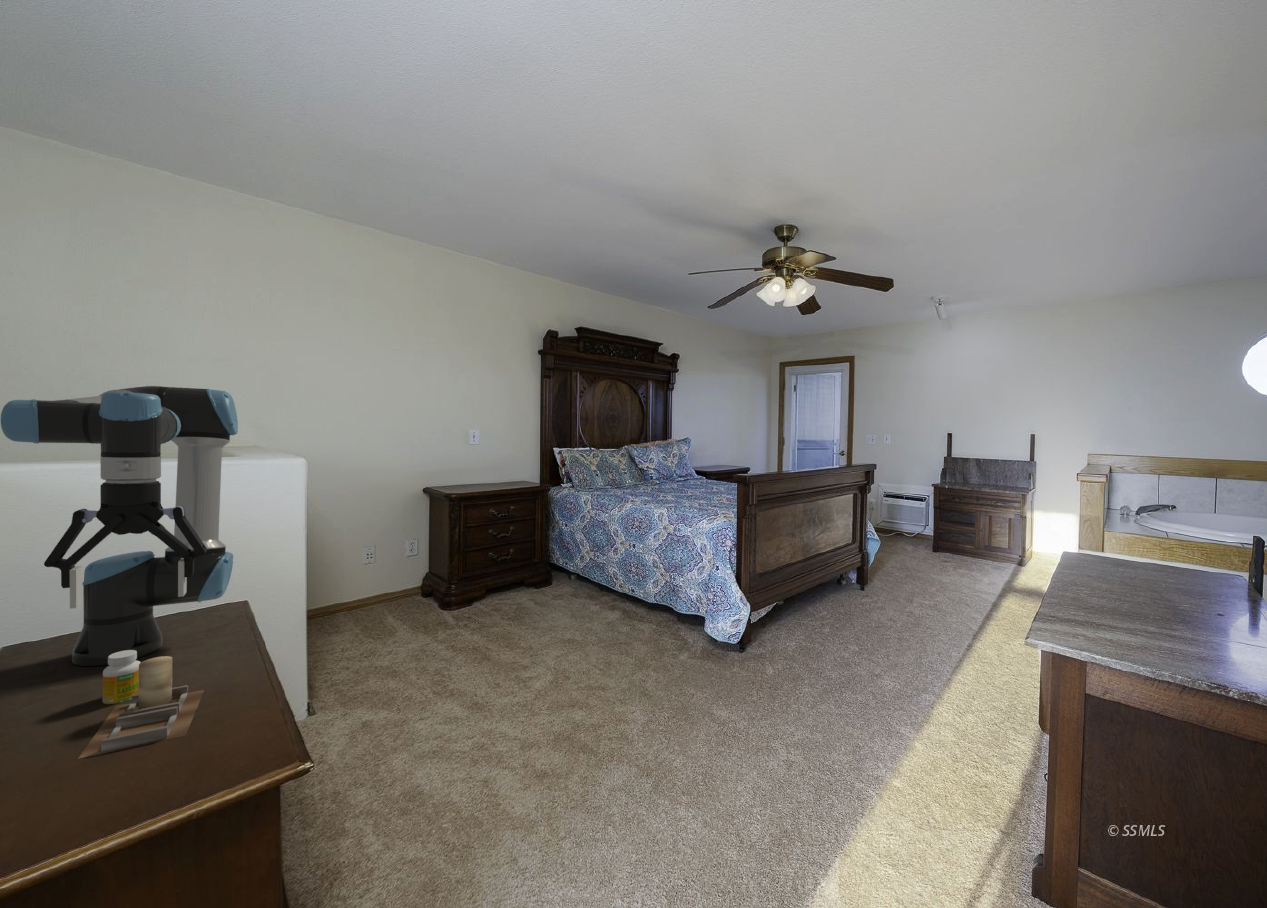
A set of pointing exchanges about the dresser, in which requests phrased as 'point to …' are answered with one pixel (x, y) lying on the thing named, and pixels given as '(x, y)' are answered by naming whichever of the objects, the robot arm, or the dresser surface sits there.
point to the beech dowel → (155, 682)
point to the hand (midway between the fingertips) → (131, 600)
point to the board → (145, 723)
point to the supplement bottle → (121, 677)
